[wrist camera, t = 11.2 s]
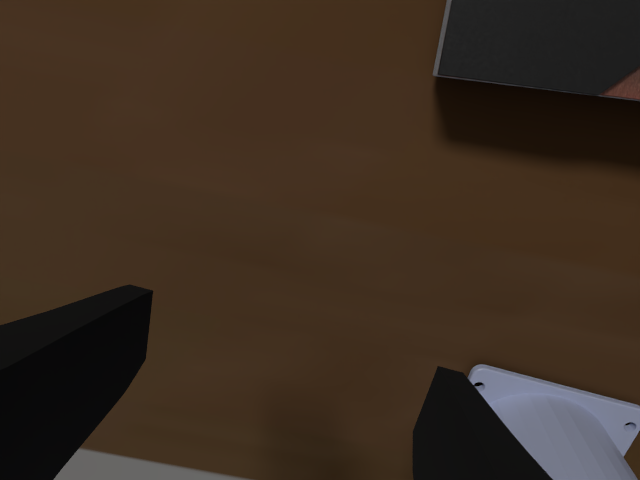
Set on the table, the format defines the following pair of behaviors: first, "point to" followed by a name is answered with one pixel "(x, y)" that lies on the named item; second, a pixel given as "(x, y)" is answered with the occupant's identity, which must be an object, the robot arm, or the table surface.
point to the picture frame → (544, 45)
